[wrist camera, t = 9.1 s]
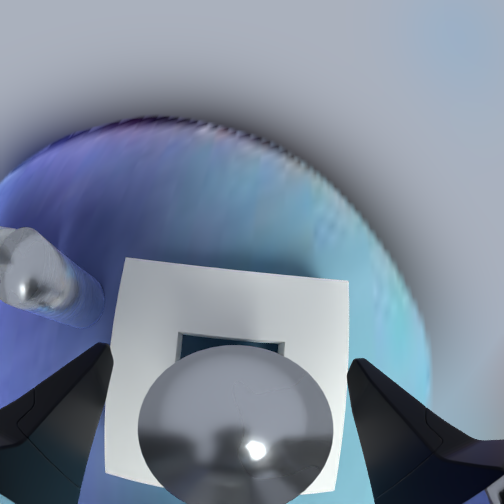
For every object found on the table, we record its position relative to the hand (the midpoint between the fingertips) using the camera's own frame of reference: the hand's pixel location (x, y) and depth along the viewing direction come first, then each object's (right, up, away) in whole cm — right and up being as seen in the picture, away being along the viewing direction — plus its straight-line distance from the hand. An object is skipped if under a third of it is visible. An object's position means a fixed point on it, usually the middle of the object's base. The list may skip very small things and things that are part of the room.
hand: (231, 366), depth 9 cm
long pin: (-1, -4, +7) cm, 9 cm away
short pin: (-12, 0, +8) cm, 14 cm away
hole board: (-1, -4, +7) cm, 9 cm away
